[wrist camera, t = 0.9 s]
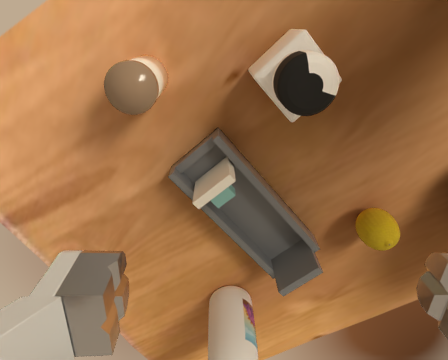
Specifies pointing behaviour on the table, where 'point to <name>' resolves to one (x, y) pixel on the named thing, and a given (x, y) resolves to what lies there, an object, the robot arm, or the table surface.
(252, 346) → the milk bottle
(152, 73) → the jar
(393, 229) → the lemon
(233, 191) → the pusher
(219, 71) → the table surface
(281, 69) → the medicine bottle
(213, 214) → the lane
